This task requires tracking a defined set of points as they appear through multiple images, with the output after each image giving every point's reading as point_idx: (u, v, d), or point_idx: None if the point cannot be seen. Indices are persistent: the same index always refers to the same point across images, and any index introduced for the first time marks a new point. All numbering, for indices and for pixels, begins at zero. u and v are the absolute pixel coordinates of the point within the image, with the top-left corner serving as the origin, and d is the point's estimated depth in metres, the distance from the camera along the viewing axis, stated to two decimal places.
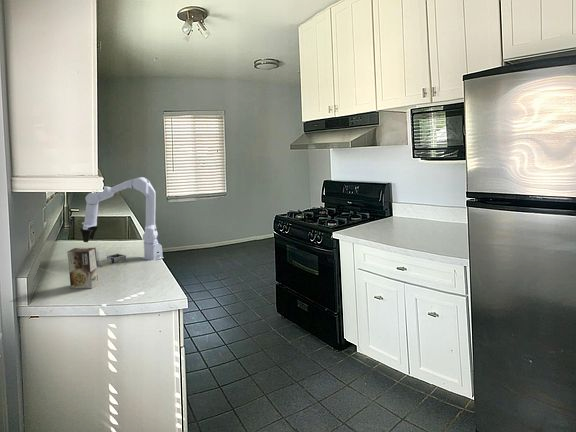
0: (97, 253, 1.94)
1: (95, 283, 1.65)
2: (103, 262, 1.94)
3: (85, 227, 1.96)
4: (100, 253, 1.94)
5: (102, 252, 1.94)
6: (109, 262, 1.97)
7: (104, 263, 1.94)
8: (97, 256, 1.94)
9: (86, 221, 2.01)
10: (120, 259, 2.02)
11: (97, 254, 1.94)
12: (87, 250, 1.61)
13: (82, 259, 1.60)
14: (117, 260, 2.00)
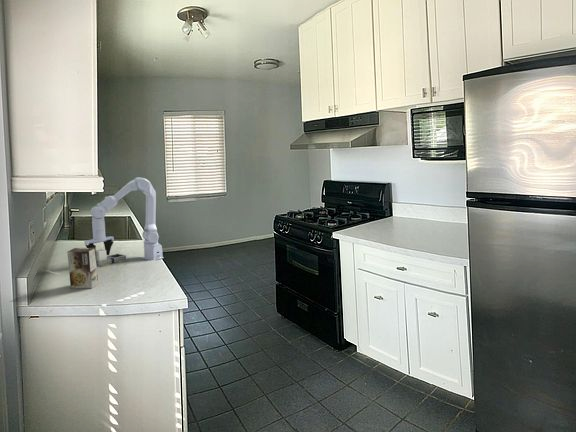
0: (97, 253, 1.94)
1: (95, 283, 1.65)
2: (103, 262, 1.94)
3: (85, 242, 1.88)
4: (100, 253, 1.94)
5: (102, 252, 1.94)
6: (109, 262, 1.97)
7: (104, 263, 1.94)
8: (97, 256, 1.94)
9: (93, 236, 1.93)
10: (120, 259, 2.02)
11: (97, 254, 1.94)
12: (87, 250, 1.61)
13: (82, 259, 1.60)
14: (117, 260, 2.00)
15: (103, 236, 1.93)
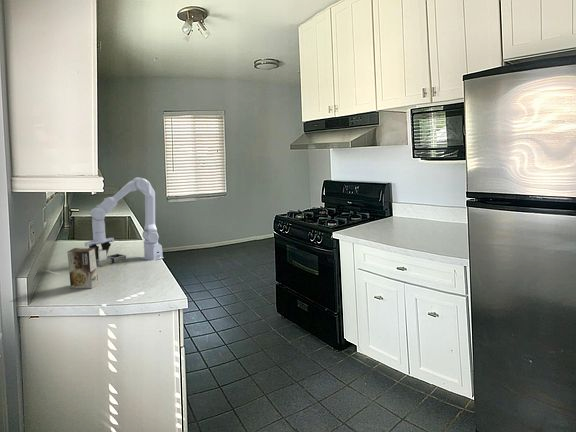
0: None
1: (95, 283, 1.65)
2: (103, 262, 1.94)
3: (86, 244, 1.89)
4: (100, 253, 1.94)
5: (102, 252, 1.94)
6: (109, 262, 1.97)
7: (104, 263, 1.94)
8: None
9: (93, 238, 1.93)
10: (120, 259, 2.02)
11: None
12: (87, 250, 1.61)
13: (82, 259, 1.60)
14: (117, 260, 2.00)
15: (103, 238, 1.93)
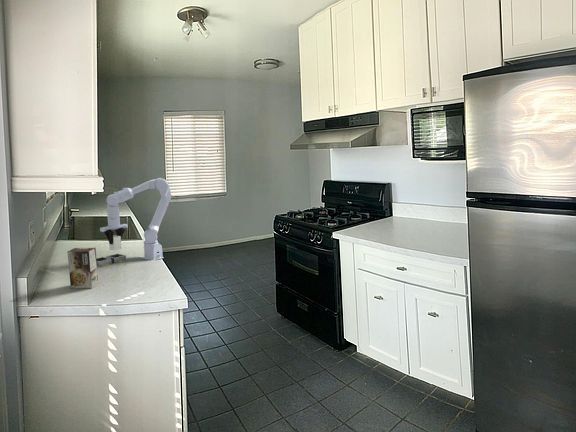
0: None
1: (95, 283, 1.65)
2: (103, 262, 1.94)
3: (101, 229, 1.95)
4: (115, 238, 2.00)
5: (117, 238, 2.01)
6: (109, 262, 1.97)
7: (104, 263, 1.94)
8: None
9: (108, 223, 1.99)
10: (120, 259, 2.02)
11: None
12: (87, 250, 1.61)
13: (82, 259, 1.60)
14: (117, 260, 2.00)
15: (118, 223, 2.00)
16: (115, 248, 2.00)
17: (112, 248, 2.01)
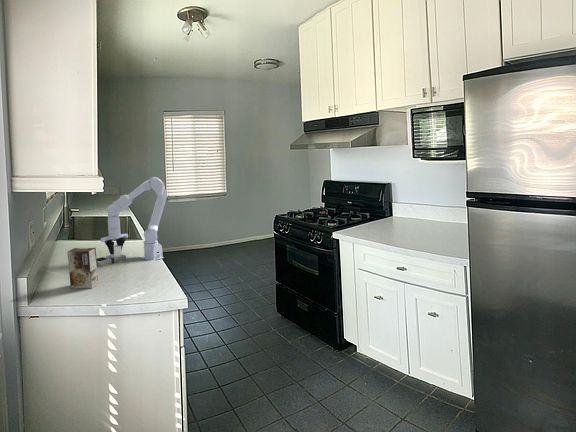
0: None
1: (95, 283, 1.65)
2: (103, 262, 1.94)
3: (102, 239, 1.96)
4: (116, 248, 2.01)
5: (117, 248, 2.01)
6: (109, 262, 1.97)
7: (104, 263, 1.94)
8: None
9: None
10: (120, 259, 2.02)
11: None
12: (87, 250, 1.61)
13: (82, 259, 1.60)
14: (117, 260, 2.00)
15: (118, 233, 2.00)
16: None
17: None
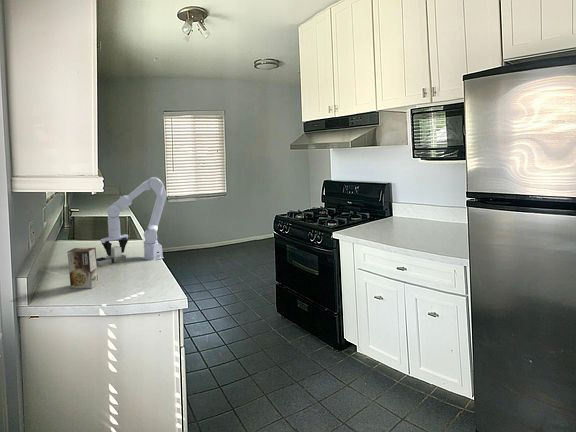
0: (112, 250, 2.01)
1: (95, 283, 1.65)
2: (103, 262, 1.94)
3: (102, 240, 1.96)
4: (116, 249, 2.01)
5: (117, 249, 2.02)
6: (109, 262, 1.97)
7: (104, 263, 1.94)
8: (112, 252, 2.01)
9: None
10: (120, 259, 2.02)
11: (112, 251, 2.01)
12: (87, 250, 1.61)
13: (82, 259, 1.60)
14: (117, 260, 2.00)
15: (118, 234, 2.00)
16: None
17: None
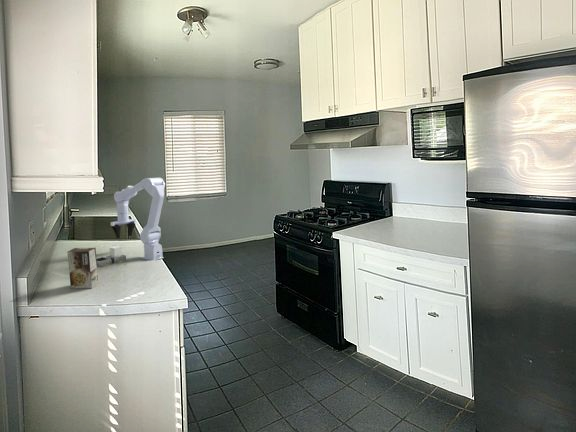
0: (112, 250, 2.01)
1: (95, 283, 1.65)
2: (103, 262, 1.94)
3: (111, 223, 2.10)
4: (116, 249, 2.01)
5: (117, 249, 2.02)
6: (109, 262, 1.97)
7: (104, 263, 1.94)
8: (112, 252, 2.01)
9: None
10: (120, 259, 2.02)
11: (112, 251, 2.01)
12: (87, 250, 1.61)
13: (82, 259, 1.60)
14: (117, 260, 2.00)
15: (127, 218, 2.15)
16: None
17: None
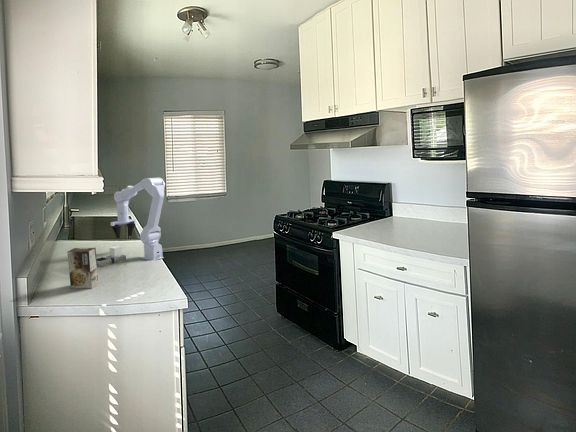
0: (112, 250, 2.01)
1: (95, 283, 1.65)
2: (103, 262, 1.94)
3: (111, 223, 2.10)
4: (116, 249, 2.01)
5: (117, 249, 2.02)
6: (109, 262, 1.97)
7: (104, 263, 1.94)
8: (112, 252, 2.01)
9: None
10: (120, 259, 2.02)
11: (112, 251, 2.01)
12: (87, 250, 1.61)
13: (82, 259, 1.60)
14: (117, 260, 2.00)
15: (127, 218, 2.15)
16: None
17: None
